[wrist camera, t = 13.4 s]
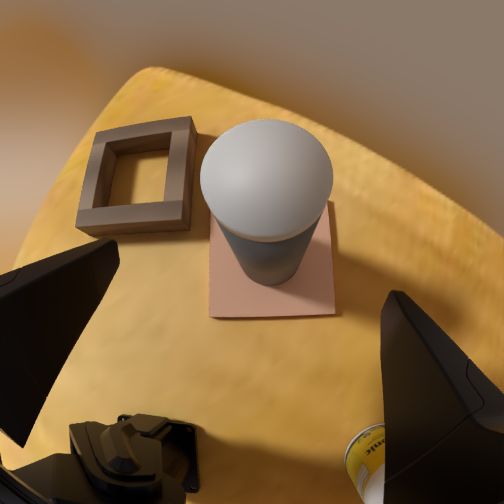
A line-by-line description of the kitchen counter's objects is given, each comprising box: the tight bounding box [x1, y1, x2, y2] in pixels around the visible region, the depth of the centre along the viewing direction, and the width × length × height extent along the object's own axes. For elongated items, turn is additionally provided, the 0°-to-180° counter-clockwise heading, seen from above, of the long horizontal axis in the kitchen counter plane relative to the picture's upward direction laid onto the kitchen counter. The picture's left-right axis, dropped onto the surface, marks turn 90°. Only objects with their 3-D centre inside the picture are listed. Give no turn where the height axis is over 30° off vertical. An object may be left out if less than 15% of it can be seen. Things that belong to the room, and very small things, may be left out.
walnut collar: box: [75, 116, 197, 236], centre depth 24 cm, size 10×10×2 cm
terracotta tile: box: [209, 203, 335, 317], centre depth 23 cm, size 9×9×1 cm
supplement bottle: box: [344, 423, 385, 504], centre depth 14 cm, size 5×5×10 cm
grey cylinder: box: [200, 119, 333, 286], centre depth 16 cm, size 4×4×13 cm
